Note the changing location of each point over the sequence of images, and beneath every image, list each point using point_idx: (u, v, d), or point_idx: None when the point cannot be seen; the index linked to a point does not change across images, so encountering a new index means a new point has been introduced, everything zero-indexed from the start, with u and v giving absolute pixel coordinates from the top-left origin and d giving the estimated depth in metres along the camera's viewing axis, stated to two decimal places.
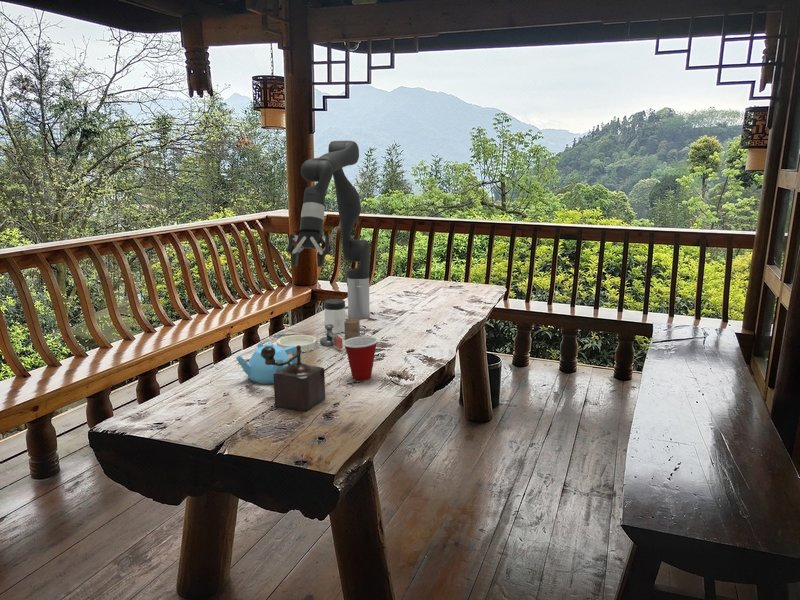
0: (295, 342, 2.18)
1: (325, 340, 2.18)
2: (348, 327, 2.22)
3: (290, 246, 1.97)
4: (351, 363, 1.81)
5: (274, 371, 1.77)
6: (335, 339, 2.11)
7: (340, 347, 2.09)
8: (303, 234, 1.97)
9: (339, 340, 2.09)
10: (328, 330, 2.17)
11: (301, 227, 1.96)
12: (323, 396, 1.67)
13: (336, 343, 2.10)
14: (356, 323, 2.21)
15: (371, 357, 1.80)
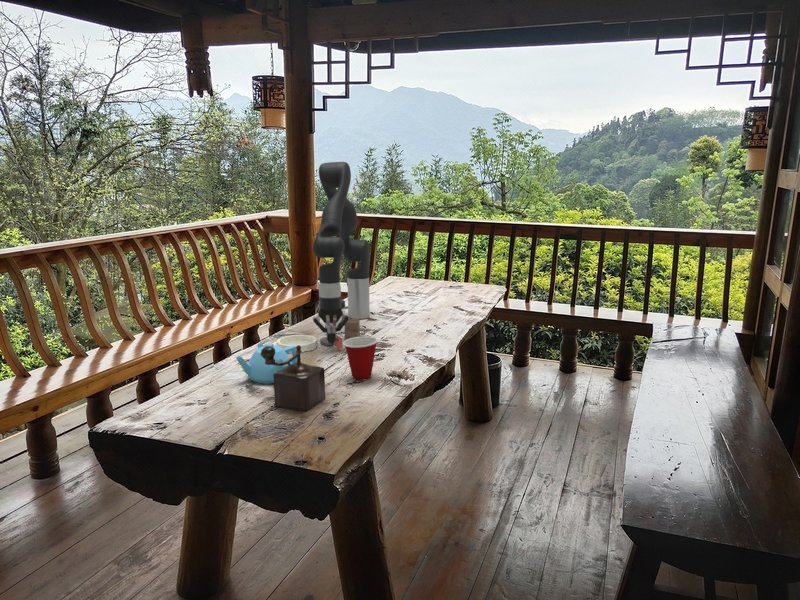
0: (295, 342, 2.18)
1: (325, 340, 2.18)
2: (348, 327, 2.22)
3: (322, 327, 2.07)
4: (351, 363, 1.81)
5: (274, 371, 1.77)
6: None
7: (340, 347, 2.09)
8: (324, 311, 2.06)
9: (339, 340, 2.09)
10: None
11: (324, 308, 2.04)
12: (323, 396, 1.67)
13: (336, 343, 2.10)
14: (356, 323, 2.21)
15: (371, 357, 1.80)
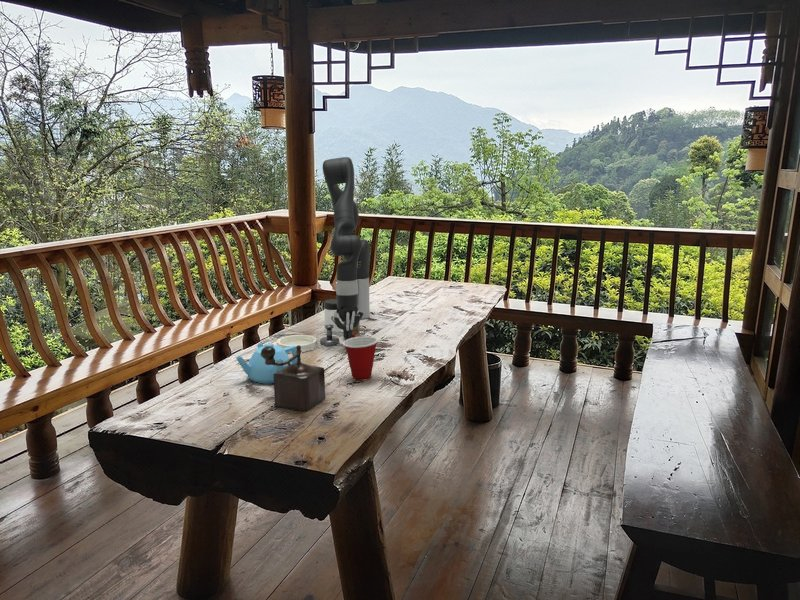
0: (295, 342, 2.18)
1: (325, 340, 2.18)
2: None
3: (342, 325, 2.09)
4: (351, 363, 1.81)
5: (274, 371, 1.77)
6: None
7: None
8: (344, 309, 2.08)
9: (355, 336, 2.14)
10: (328, 330, 2.17)
11: (346, 305, 2.06)
12: (323, 396, 1.67)
13: None
14: None
15: (371, 357, 1.80)
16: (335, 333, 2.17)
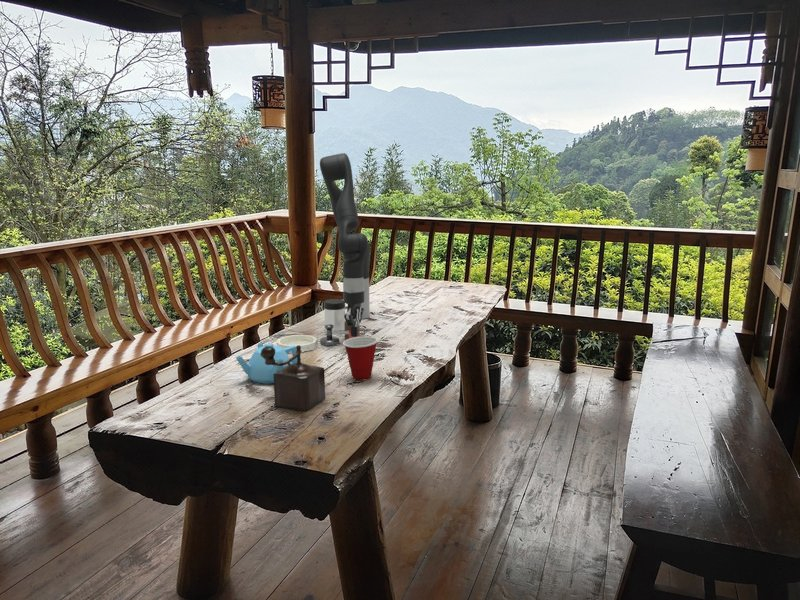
0: (295, 342, 2.18)
1: (325, 340, 2.18)
2: (348, 327, 2.22)
3: (353, 322, 2.12)
4: (351, 363, 1.81)
5: (274, 371, 1.77)
6: None
7: None
8: (354, 306, 2.12)
9: (359, 331, 2.19)
10: (328, 330, 2.17)
11: (359, 302, 2.11)
12: (323, 396, 1.67)
13: None
14: None
15: (371, 357, 1.80)
16: (337, 332, 2.18)
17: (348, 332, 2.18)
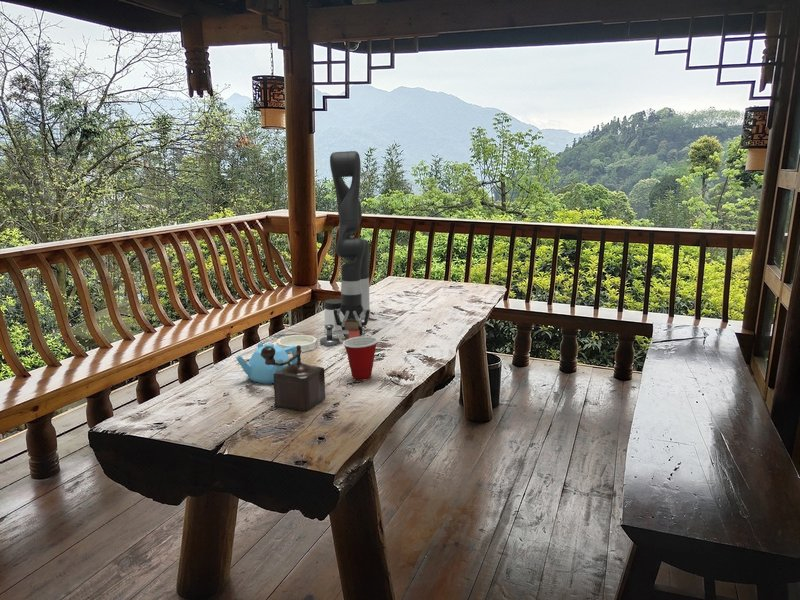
0: (295, 342, 2.18)
1: (325, 340, 2.18)
2: (348, 327, 2.22)
3: (338, 320, 2.23)
4: (351, 363, 1.81)
5: (274, 371, 1.77)
6: (351, 333, 2.19)
7: None
8: (345, 307, 2.21)
9: (359, 331, 2.19)
10: (328, 330, 2.17)
11: (344, 303, 2.19)
12: (323, 396, 1.67)
13: (354, 336, 2.19)
14: (356, 323, 2.21)
15: (371, 357, 1.80)
16: (337, 332, 2.18)
17: (348, 332, 2.18)
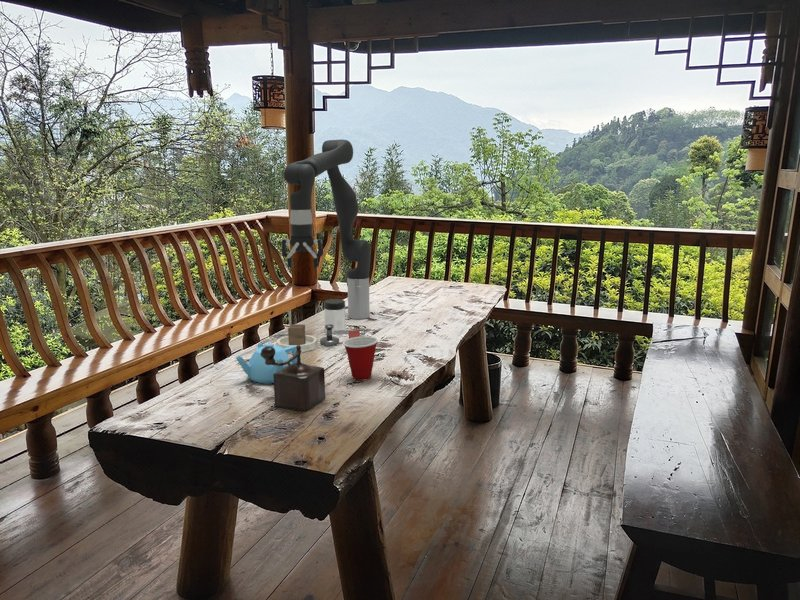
0: None
1: (325, 340, 2.18)
2: (292, 333, 2.11)
3: (284, 251, 2.10)
4: (351, 363, 1.81)
5: (274, 371, 1.76)
6: (351, 333, 2.19)
7: None
8: (295, 239, 2.09)
9: (359, 331, 2.19)
10: (328, 330, 2.17)
11: (293, 234, 2.06)
12: (323, 396, 1.66)
13: (354, 336, 2.19)
14: (300, 329, 2.11)
15: (371, 357, 1.80)
16: (337, 332, 2.18)
17: (348, 332, 2.18)
